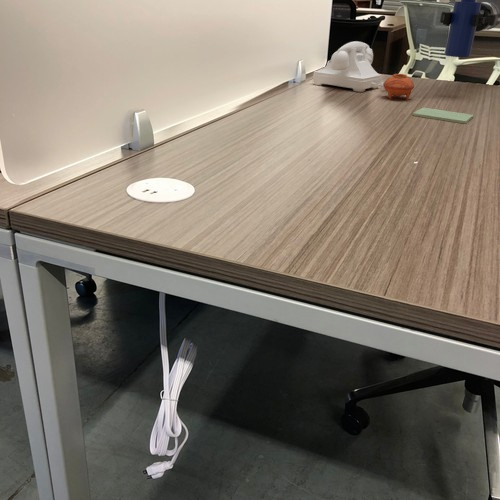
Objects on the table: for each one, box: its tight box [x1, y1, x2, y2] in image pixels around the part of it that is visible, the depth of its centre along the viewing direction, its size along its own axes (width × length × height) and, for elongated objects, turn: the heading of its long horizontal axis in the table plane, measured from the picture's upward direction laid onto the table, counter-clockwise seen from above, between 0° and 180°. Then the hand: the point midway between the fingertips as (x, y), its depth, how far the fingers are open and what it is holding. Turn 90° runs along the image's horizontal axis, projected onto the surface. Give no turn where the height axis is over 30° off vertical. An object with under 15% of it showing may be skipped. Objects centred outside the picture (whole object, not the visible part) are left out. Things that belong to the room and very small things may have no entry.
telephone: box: [312, 40, 385, 93], centre depth 148 cm, size 25×21×12 cm
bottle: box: [444, 0, 482, 58], centre depth 132 cm, size 6×6×17 cm
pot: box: [382, 73, 415, 100], centre depth 135 cm, size 8×8×7 cm
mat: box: [411, 107, 475, 125], centre depth 118 cm, size 12×8×1 cm, turn 56°
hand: (459, 19), depth 128 cm, fingers closed on bottle, 6 cm apart
